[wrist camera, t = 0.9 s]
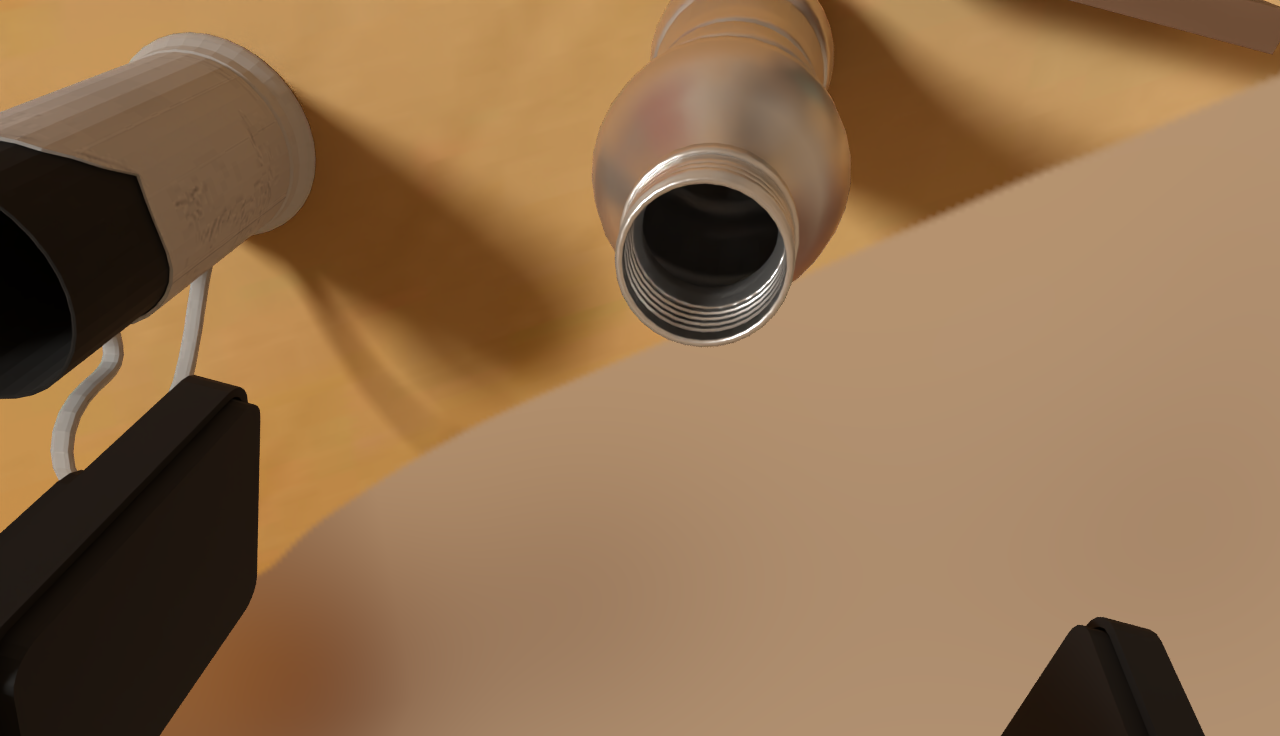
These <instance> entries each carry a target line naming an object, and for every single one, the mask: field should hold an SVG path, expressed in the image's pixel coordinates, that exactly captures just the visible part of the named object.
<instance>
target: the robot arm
mask: <svg viewBox="0 0 1280 736" xmlns="http://www.w3.org/2000/svg"><path fill="white" fill-rule="evenodd" d="M259 455H260V410H259V408H258V406H256V405H254V404H250V403H248V400H247V394H246V392H245V390H244V389H242V388H241V387H237V386H234V385H230V384H226V383H222V382H219V381H215V380H211V379H207V378H204V377H200V376H196V375H190V376H187V377H186V378H184V379H183V380H181V381H180V382H179V383H178V384H177V385H176V386H175V387H174V388H173V389H172V390H170V391H169V392H168V393H167V394H166V395H165V396H164V397H163V398H162V399H161V400H160V401H159V402H157V403H156V404H155V405H154V406H153V407H152V408H151V409H150V410H149V411H148V412H147V413H146V414H144V415H143V416H142V417H141V418H140V419H139V420H138V421H137V422H136V423H135V424H134V425H133V426H131V427H130V428H129V429H128V430H127V431H126V432H125V433H124V434H123V435H122V436H121V437H120V438H118V439H117V440H116V441H115V442H114V443H113V444H112V445H111V446H110V447H109V448H108V449H107V450H105V451H104V452H103V453H102V454H101V455H100V456H99V457H98V458H97V459H96V460H95V461H94V462H92V463H91V464H90V465H89V466H88V467H87V468H86V469H85V470H79V471H75V472H72V473H69V474H68V475H66V476H65V477H63V478H62V479H61V480H59V481H58V482H57V483H55V484H54V485H53V486H52V487H51V488H50V489H49V490H48V491H47V492H45V493H44V494H43V495H42V496H41V497H40V498H39V499H38V500H37V501H36V502H34V503H33V504H32V505H31V506H30V507H29V508H28V509H27V510H26V511H24V512H23V513H22V514H21V515H20V516H19V517H18V518H17V519H16V520H15V521H13V522H12V523H11V524H10V525H9V526H8V527H7V528H6V529H5V530H3V531H2V532H1V533H0V736H160V734H161V733H162V731H163V730H164V728H165V727H166V725H167V724H168V722H169V721H170V719H171V718H172V717H173V715H174V714H175V712H176V710H177V709H178V708H179V706H180V705H181V703H182V702H183V701H184V699H185V698H186V696H187V695H188V693H189V692H190V690H191V689H192V687H193V686H194V684H195V683H196V682H197V680H198V679H199V677H200V676H201V674H202V673H203V671H204V670H205V668H206V667H207V666H208V664H209V663H210V661H211V659H212V658H213V657H214V655H215V654H216V652H217V651H218V649H219V648H220V647H221V645H222V644H223V642H224V641H225V639H226V638H227V636H228V635H229V633H230V632H231V630H232V629H233V628H234V626H235V625H236V623H237V622H238V620H239V619H240V617H241V616H242V614H243V613H244V611H245V610H246V608H247V606H248V605H249V602H250V600H251V598H252V595H253V592H254V589H255V585H256V580H257V548H258V501H259ZM1001 736H1205V735H1204V733H1203V731H1202V729H1201V726H1200V724H1199V722H1198V720H1197V718H1196V716H1195V713H1194V711H1193V709H1192V707H1191V705H1190V702H1189V700H1188V698H1187V696H1186V694H1185V692H1184V689H1183V688H1182V685H1181V683H1180V681H1179V679H1178V676H1177V675H1176V673H1175V670H1174V668H1173V666H1172V663H1171V661H1170V659H1169V657H1168V655H1167V653H1166V650H1165V648H1164V646H1163V644H1162V642H1161V640H1160V639H1159V637H1158V636H1157V634H1156V633H1154V632H1153V631H1151V630H1149V629H1146V628H1141V627H1138V626H1134V625H1131V624H1127V623H1123V622H1119V621H1116V620H1112V619H1108V618H1104V617H1097V618H1095V619H1093V620H1091V621H1090V622H1089V623H1088V624H1087V626H1083V625H1077V626H1075V627H1074V628H1072V630H1071V631H1070V632H1069V633H1068V635H1067V636H1066V638H1065V640H1064V641H1063V642H1062V644H1061V645H1060V647H1059V648H1058V650H1057V651H1056V653H1055V654H1054V656H1053V658H1052V659H1051V661H1050V662H1049V664H1048V665H1047V667H1046V668H1045V670H1044V671H1043V673H1042V674H1041V676H1040V677H1039V679H1038V680H1037V682H1036V683H1035V685H1034V686H1033V688H1032V689H1031V691H1030V693H1029V694H1028V696H1027V697H1026V699H1025V700H1024V702H1023V703H1022V705H1021V706H1020V708H1019V709H1018V711H1017V712H1016V714H1015V715H1014V717H1013V719H1012V720H1011V722H1010V723H1009V724H1008V726H1007V727H1006V729H1005V730H1004V732H1003V734H1002V735H1001Z"/></svg>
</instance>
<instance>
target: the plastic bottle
mask: <svg viewBox="0 0 1280 736" xmlns="http://www.w3.org/2000/svg"><path fill="white" fill-rule="evenodd" d="M833 66H834V43H833V38H832V32H831V27H830V24H829V21H828V19H827V17H826V14H825V12H824V9H823V7H822V6H821V4H820V3H819V1H818V0H671V1H670V3H669V4H668V5H667V7H666V8H665V10H664V12H663V14H662V16H661V18H660V20H659V22H658V24H657V27H656V31H655V34H654V38H653V41H652V48H651V58H650V62H649V63H648V64H647V65H646V66H644V67H643V68H642V69H641V70H640V71H639V72H638V73H636V74H635V75H634V76H633V77H632V79H631V80H630V81H629V82H628V83H627V84H626V85H625V87H624V88H623V89H622V91H621V92H620V93H619V94H618V96H617V97H616V98H615V100H614V101H613V102H612V104H611V106H610V108H609V110H608V112H607V114H606V116H605V118H604V120H603V122H602V124H601V126H600V129H599V133H598V136H597V140H596V144H595V148H594V152H593V166H592V182H593V190H594V198H595V203H596V207H597V210H598V214H599V217H600V220H601V223H602V226H603V229H604V232H605V235H606V237H607V239H608V240H609V242H610V244H611V246H612V248H613V249H614V251H615V266H616V274H617V280H618V283H619V286H620V289H621V292H622V295H623V297H624V299H625V300H626V302H627V304H628V306H629V307H630V309H631V310H632V311H633V313H634V314H635V315H636V316H637V317H638V318H639V320H640V321H641V322H642V323H644V324H645V325H646V326H647V327H649V328H650V329H651V330H652V331H654V332H655V333H657V334H659V335H661V336H663V337H664V338H666V339H668V340H671V341H674V342H677V343H681V344H684V345H690V346H698V347H712V346H721V345H725V344H730V343H734V342H736V341H739V340H741V339H743V338H746V337H748V336H750V335H751V334H753V333H754V332H756V331H757V330H759V329H760V328H762V327H763V326H764V325H765V324H766V323H767V322H768V321H769V320H770V319H771V318H772V317H773V316H774V315H775V314H776V312H777V311H778V309H779V308H780V306H781V305H782V303H783V302H784V300H785V298H786V295H787V293H788V291H789V288H790V286H791V283H792V282H793V281H795V280H796V279H798V278H799V277H800V276H801V275H802V274H803V273H804V272H805V271H806V270H807V269H808V268H809V267H810V266H811V265H812V264H813V263H814V262H815V260H816V259H817V258H818V256H819V255H820V254H821V252H822V251H823V249H824V248H825V246H826V245H827V244H828V242H829V241H830V239H831V238H832V236H833V235H834V233H835V232H836V229H837V227H838V225H839V222H840V220H841V218H842V215H843V213H844V211H845V208H846V203H847V199H848V194H849V189H850V184H851V155H850V149H849V144H848V139H847V134H846V130H845V128H844V125H843V123H842V120H841V118H840V116H839V113H838V111H837V108H836V106H835V104H834V101H833V99H832V97H831V96H830V94H829V93H828V88H829V85H830V82H831V77H832V72H833Z"/></svg>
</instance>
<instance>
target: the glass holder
mask: <svg viewBox="0 0 1280 736" xmlns="http://www.w3.org/2000/svg"><path fill="white" fill-rule="evenodd" d="M315 162H316V157H315V148H314V141H313V137H312V133H311V130H310V126H309V123H308V121H307V118H306V116H305V114H304V112H303V109H302V107H301V105H300V104H299V102H298V101H297V99H296V97H295V96H294V94H293V93H292V91H291V89H290V88H289V87H288V86H287V85H286V83H285V82H284V81H283V80H282V79H281V77H280V76H279V75H278V74H277V73H276V72H275V71H274V70H273V69H272V68H271V67H269V66H268V65H267V64H266V63H265V62H264V61H263V60H262V59H260V58H259V57H257V56H256V55H254V54H253V53H251V52H250V51H248V50H247V49H245V48H243V47H241V46H239V45H237V44H235V43H233V42H231V41H229V40H226V39H223V38H219V37H216V36H213V35H209V34H201V33H191V32H190V33H178V34H172V35H168V36H165V37H162V38H159V39H157V40H155V41H153V42H152V43H150V44H148V45H147V46H145V47H143V48H142V49H141V50H140V51H139V52H138V53H137V54H136V55H135V56H134V57H133V58H132V59H131V60H130V62H129V63H128V64H126V65H123V66H120V67H118V68H115V69H113V70H110V71H107V72H105V73H102V74H99V75H97V76H94V77H92V78H89V79H86V80H84V81H81V82H78V83H76V84H73V85H71V86H68V87H65V88H63V89H60V90H57V91H55V92H52V93H49V94H47V95H44V96H42V97H39V98H36V99H34V100H31V101H28V102H26V103H23V104H21V105H18V106H15V107H13V108H10V109H7V110H5V111H2V112H0V399H16V398H21V397H26V396H31V395H34V394H36V393H39V392H41V391H43V390H45V389H48V388H49V387H50V386H51V385H53V384H54V383H55V382H57V381H58V380H59V379H60V378H62V377H63V376H64V375H66V374H67V373H68V372H69V371H71V370H72V369H73V368H75V367H76V366H77V365H78V364H80V363H81V362H82V361H84V360H85V359H86V358H87V357H89V356H90V355H91V354H93V353H94V352H95V351H96V350H98V349H99V348H100V347H102V346H103V357H102V361H101V363H100V364H99V366H98V367H97V369H96V370H95V371H94V372H93V373H92V374H91V375H90V376H88V377H87V378H86V379H85V380H84V381H83V382H82V383H80V384H79V385H78V387H77V388H76V389H75V390H74V391H73V392H72V393H71V394H70V395H69V396H68V398H67V400H66V401H65V403H64V405H63V406H62V408H61V409H60V411H59V413H58V416H57V419H56V422H55V425H54V428H53V432H52V441H51V457H52V464H53V469H54V471H55V473H56V475H57V477H58V479H59V480H61V479H62V478H63V477H65V476H66V475H68V474H69V473H72V472H75V471H77V469H76V468H75V461H74V454H73V450H74V441H75V434H76V431H77V427H78V424H79V421H80V418H81V416H82V414H83V413H84V411H85V409H86V407H87V406H88V404H89V402H90V401H91V400H92V399H93V398H94V397H95V396H96V394H97V393H98V392H99V391H100V390H101V389H102V388H103V387H104V386H106V385H107V384H108V383H109V382H110V381H111V380H112V379H113V378H114V376H115V375H116V374H117V372H118V371H119V369H120V367H121V365H122V361H123V356H124V352H123V342H122V337H121V333H120V332H121V331H122V330H123V329H125V328H126V327H127V326H129V325H130V324H134V323H136V322H138V321H141V320H143V319H145V318H147V317H149V316H150V315H151V314H153V313H154V312H155V311H156V310H158V309H159V308H160V307H161V306H163V305H164V304H165V303H167V302H168V301H169V300H170V299H172V298H173V297H174V296H175V295H177V294H178V293H179V292H181V291H182V290H183V289H184V288H186V287H187V286H188V285H189V284H191V285H190V292H189V298H188V305H187V311H186V319H185V326H184V332H183V338H182V343H181V348H180V353H179V358H178V362H177V366H176V371H175V375H174V379H173V382H172V385H171V387H170V390H172V389H173V388H174V387H175V386H176V385H177V384H178V383H179V382H180V381H181V380H183V379H184V378H186V377H187V376H190V375H194V372H195V367H196V362H197V356H198V350H199V345H200V339H201V334H202V329H203V322H204V314H205V308H206V301H207V295H208V288H209V282H210V277H211V272H212V267H213V265H215V264H216V263H217V262H219V261H220V260H221V259H222V258H224V257H225V256H226V255H227V254H229V253H230V252H231V251H232V250H234V249H235V248H236V247H238V246H239V245H240V244H241V243H243V242H244V241H245V240H246V239H248V238H249V237H250V236H252V235H256V234H260V233H264V232H268V231H271V230H273V229H275V228H277V227H279V226H281V225H283V224H284V223H286V222H287V221H288V220H290V219H291V218H292V217H293V216H295V214H296V213H297V212H298V211H299V210H300V208H301V207H302V206H303V205H304V203H305V201H306V199H307V197H308V195H309V193H310V191H311V187H312V184H313V180H314V176H315ZM170 390H169V391H170Z"/></svg>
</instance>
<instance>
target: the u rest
mask: <svg viewBox="0 0 1280 736" xmlns="http://www.w3.org/2000/svg"><path fill="white" fill-rule="evenodd" d="M1070 1H1074V2H1078V3H1081V4H1085V5H1089V6H1093V7H1096V8H1100V9H1104V10H1108V11H1111V12H1115V13H1119V14H1123V15H1126V16H1130V17H1134V18H1138V19H1141V20H1145V21H1149V22H1153V23H1156V24H1160V25H1164V26H1168V27H1171V28H1175V29H1179V30H1183V31H1186V32H1190V33H1194V34H1198V35H1201V36H1205V37H1209V38H1213V39H1216V40H1220V41H1224V42H1227V43H1231V44H1235V45H1239V46H1242V47H1246V48H1250V49H1254V50H1257V51H1261V52H1265V53H1269V54H1273V52H1274V51H1275V49H1276V47H1277V45H1278V44H1279V42H1280V7H1279V6H1277V5H1274V4H1272V3H1269V2H1266V1H1264V0H1070Z"/></svg>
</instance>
